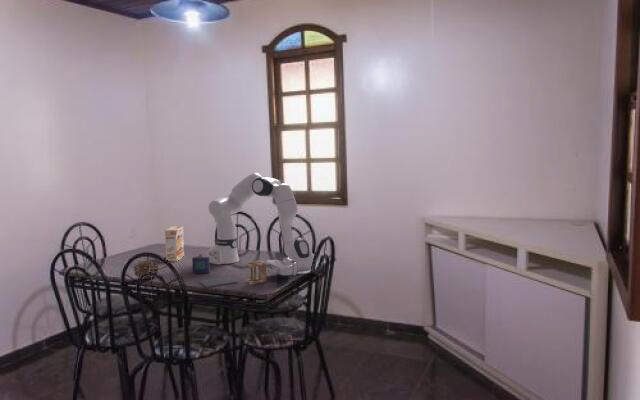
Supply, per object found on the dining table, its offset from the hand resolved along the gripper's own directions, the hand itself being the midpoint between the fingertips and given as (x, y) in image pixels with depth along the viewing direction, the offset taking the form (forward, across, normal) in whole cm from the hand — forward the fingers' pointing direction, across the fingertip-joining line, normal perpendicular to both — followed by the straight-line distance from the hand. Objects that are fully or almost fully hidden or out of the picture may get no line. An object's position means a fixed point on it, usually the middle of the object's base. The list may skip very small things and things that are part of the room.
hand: (264, 269), depth 240 cm
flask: (+24, -32, +6) cm, 40 cm away
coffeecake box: (+27, -74, +6) cm, 79 cm away
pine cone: (+48, -38, +6) cm, 61 cm away
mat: (+22, -9, +6) cm, 24 cm away
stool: (+5, 0, +6) cm, 8 cm away
